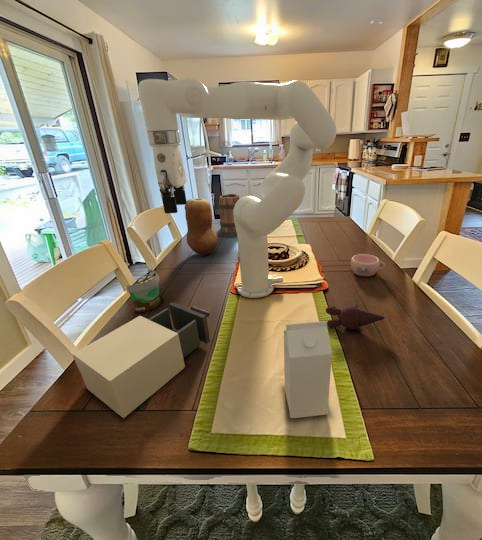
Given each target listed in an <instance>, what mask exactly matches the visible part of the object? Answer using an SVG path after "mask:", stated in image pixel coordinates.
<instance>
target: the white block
mask: <svg viewBox="0 0 482 540" xmlns="http://www.w3.org/2000/svg"><path fill="white" fill-rule="evenodd" d="M148 319H149V318H146V317H144V316H141V315H139V316H137V317H135V318H133V319H131V320H130V321H128V322H126V323H124V324H123V325H121V326H119V327H118V328H115V329H113V330H112V331H110V332H109V333H106V334H105V335H103V336H102V337H100V338H98V339H96V340H95V341H93V342H91V343H89V344H87V345H85V346H84V347H82V348H80V349H79V350H77V351H75V352H73V353H72V356H73V360H74V361H75V364H76V366H77V368H78V371H79V373H80V376H81V378H82V380H83V382H84V385H85V388H86V390H88V391H89V392H90V393H91V394H93V395H94V396H95V397H96V398H98V399H99V400H100V401H101V402H103V403H104V404H105V405H107V407H108V408H109V409H111V410H112V411H114V412H115V413H116V414H117V415H119V416H120V417H121V418H122V419H125V418H126V417H128V415H130V414H131V413H133V411H135V410H136V409H137V408H138V407H139V406H141V405H142V404H143V403H144V402H145V401H146V400H148V399H149V398H150V397H151V396H153V395H154V394H155V393H156V392H157V391H158V390H160V389H162V388H163V386H165V385H166V384H167V383H168V382H169V381H170V380H172V379H173V378H174V377H176V376H177V375H178V374H179V373H180V372H181V371H182V370H184V369H185V368H186V364H185V358H183V354H182V350H181V345H180V340H179V336H178V333H176V332H174V331H171V330H169V329H167V328H165V327H163V326H161V325H159V324H157V323H155V322H152V321H150V320H148Z"/></svg>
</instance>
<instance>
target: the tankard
mask: <svg viewBox="0 0 482 540" xmlns="http://www.w3.org/2000/svg"><path fill="white" fill-rule="evenodd" d="M239 199H241V197H240V195H239V194H236V193H227V194H222V195H220V196H219V202H218V208H219V225H220V228H219V229H218V231H217V233H216V235H217V236H220V237H223V238H236V237H237V231H236V227H235V222H234V216H233V211H234V206H235V204H236V202H237V201H238V200H239Z"/></svg>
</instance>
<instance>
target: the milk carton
mask: <svg viewBox="0 0 482 540" xmlns="http://www.w3.org/2000/svg"><path fill="white" fill-rule="evenodd" d="M327 321H328V320H321V321H312V322H311V321H310V322H299V323H298V322H297V323H288V324H286V325H285V328H286V329H284V330H283V363H284V367H283V370H284V391H285V396H286V403H287V408H288V413H289V418H290V419H298V418H306V417H307V418H308V417H317V416H326V415H328V412H329V410H328V409H329V399H330V383H331V371H332V354H333V351H332V345H331V340H330V335H329V330H328V326H327Z"/></svg>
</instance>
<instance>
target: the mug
mask: <svg viewBox="0 0 482 540" xmlns="http://www.w3.org/2000/svg"><path fill="white" fill-rule="evenodd" d="M381 264H382V267H380V265H381ZM350 268H351V271H352V272H353V273H354V274H355V275H357V276H359V277H372V276H374V275H376V274H377V272H378V271H382V270H384V269H385V268H386V263H385V261H381V260H380V258H378V257H377V256H376V255H373V254H369V253H357V254H356V255H353V256H352V257H351V260H350Z"/></svg>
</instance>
